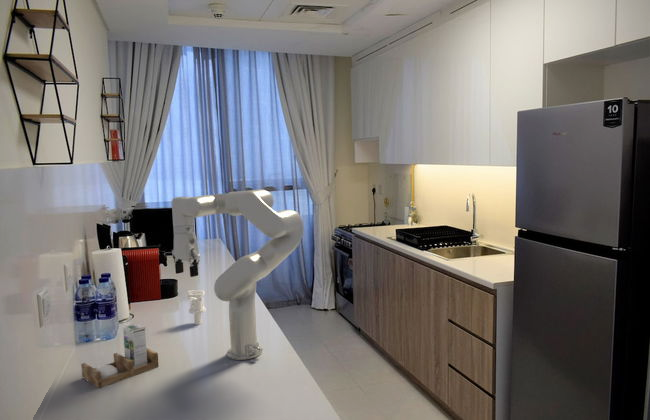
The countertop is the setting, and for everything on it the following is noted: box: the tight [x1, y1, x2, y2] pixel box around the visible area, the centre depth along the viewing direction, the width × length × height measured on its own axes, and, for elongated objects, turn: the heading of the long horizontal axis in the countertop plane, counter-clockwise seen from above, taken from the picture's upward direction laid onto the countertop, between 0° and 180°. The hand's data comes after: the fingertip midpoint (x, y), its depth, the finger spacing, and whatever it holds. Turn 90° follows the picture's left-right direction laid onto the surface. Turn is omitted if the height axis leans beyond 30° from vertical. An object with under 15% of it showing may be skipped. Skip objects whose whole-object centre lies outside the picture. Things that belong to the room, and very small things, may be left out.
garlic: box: [95, 364, 119, 380], centre depth 172 cm, size 8×7×4 cm
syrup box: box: [122, 323, 147, 368], centre depth 178 cm, size 6×6×14 cm
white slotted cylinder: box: [187, 289, 207, 326], centre depth 224 cm, size 7×7×15 cm
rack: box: [81, 347, 160, 389], centre depth 175 cm, size 12×21×5 cm, turn 138°
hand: (186, 274), depth 194 cm, fingers open, 9 cm apart
